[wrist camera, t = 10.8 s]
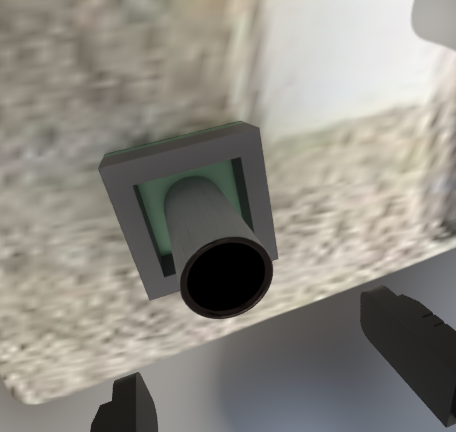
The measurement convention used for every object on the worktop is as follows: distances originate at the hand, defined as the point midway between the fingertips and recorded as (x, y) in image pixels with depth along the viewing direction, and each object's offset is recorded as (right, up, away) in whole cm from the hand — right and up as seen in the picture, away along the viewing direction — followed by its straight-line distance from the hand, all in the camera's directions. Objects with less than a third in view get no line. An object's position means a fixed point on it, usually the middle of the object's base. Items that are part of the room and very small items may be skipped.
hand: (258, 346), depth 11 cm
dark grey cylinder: (-4, +5, +13) cm, 15 cm away
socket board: (-4, +6, +14) cm, 15 cm away
